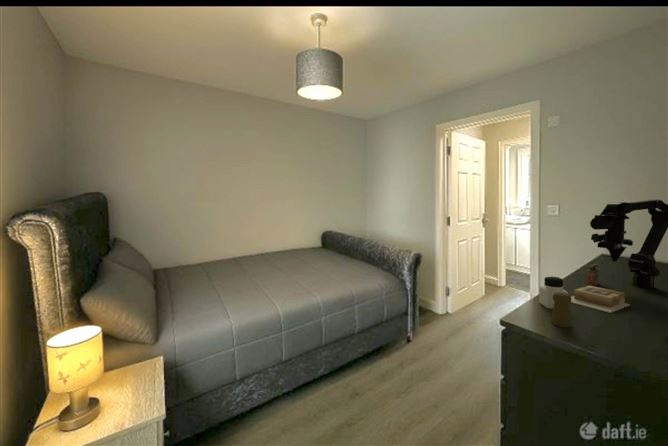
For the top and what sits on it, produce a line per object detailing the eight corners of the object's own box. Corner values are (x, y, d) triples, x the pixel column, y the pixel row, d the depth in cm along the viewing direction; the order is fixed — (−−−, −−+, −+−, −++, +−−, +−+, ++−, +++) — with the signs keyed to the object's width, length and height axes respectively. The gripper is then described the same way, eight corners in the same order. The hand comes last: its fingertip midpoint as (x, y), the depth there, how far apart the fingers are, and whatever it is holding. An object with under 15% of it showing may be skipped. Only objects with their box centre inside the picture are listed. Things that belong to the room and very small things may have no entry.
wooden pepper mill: (546, 320, 105) (547, 291, 104) (561, 319, 106) (562, 290, 105) (560, 327, 99) (561, 296, 98) (576, 326, 100) (577, 295, 99)
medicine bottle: (567, 309, 115) (568, 280, 114) (547, 308, 116) (548, 279, 115) (557, 303, 122) (558, 275, 121) (538, 302, 123) (539, 275, 122)
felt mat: (582, 294, 131) (582, 293, 131) (629, 305, 117) (629, 304, 117) (562, 300, 125) (562, 299, 124) (609, 313, 110) (609, 311, 110)
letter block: (589, 285, 130) (574, 289, 124) (625, 292, 119) (610, 297, 114) (589, 294, 130) (574, 298, 125) (624, 302, 119) (610, 307, 114)
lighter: (593, 286, 142) (593, 266, 141) (584, 284, 145) (585, 265, 144) (600, 283, 146) (601, 264, 145) (592, 282, 149) (593, 263, 148)
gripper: (604, 226, 147) (603, 256, 149) (584, 228, 139) (583, 260, 141) (634, 228, 137) (632, 260, 138) (614, 230, 129) (613, 265, 131)
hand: (614, 261), depth 137 cm, fingers closed
